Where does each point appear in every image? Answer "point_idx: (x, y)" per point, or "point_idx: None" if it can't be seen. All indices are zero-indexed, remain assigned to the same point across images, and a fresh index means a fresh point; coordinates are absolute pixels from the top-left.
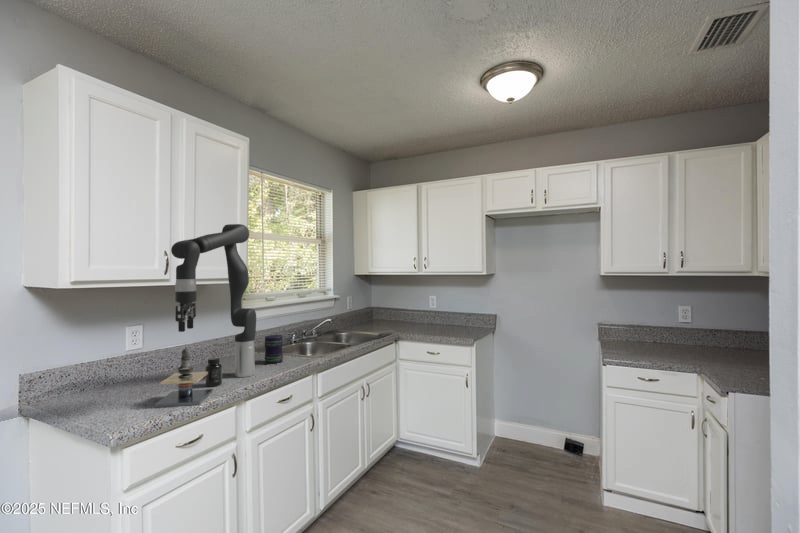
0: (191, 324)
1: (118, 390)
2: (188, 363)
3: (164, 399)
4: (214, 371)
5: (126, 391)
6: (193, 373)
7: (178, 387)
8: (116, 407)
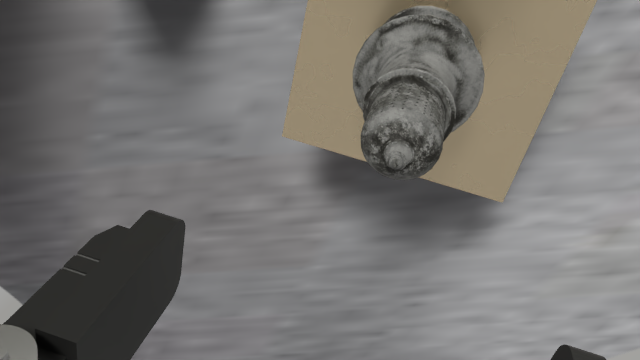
0: (146, 280)
1: None
2: (439, 71)
3: None
4: None
5: None
6: (349, 9)
7: None
8: (410, 295)
